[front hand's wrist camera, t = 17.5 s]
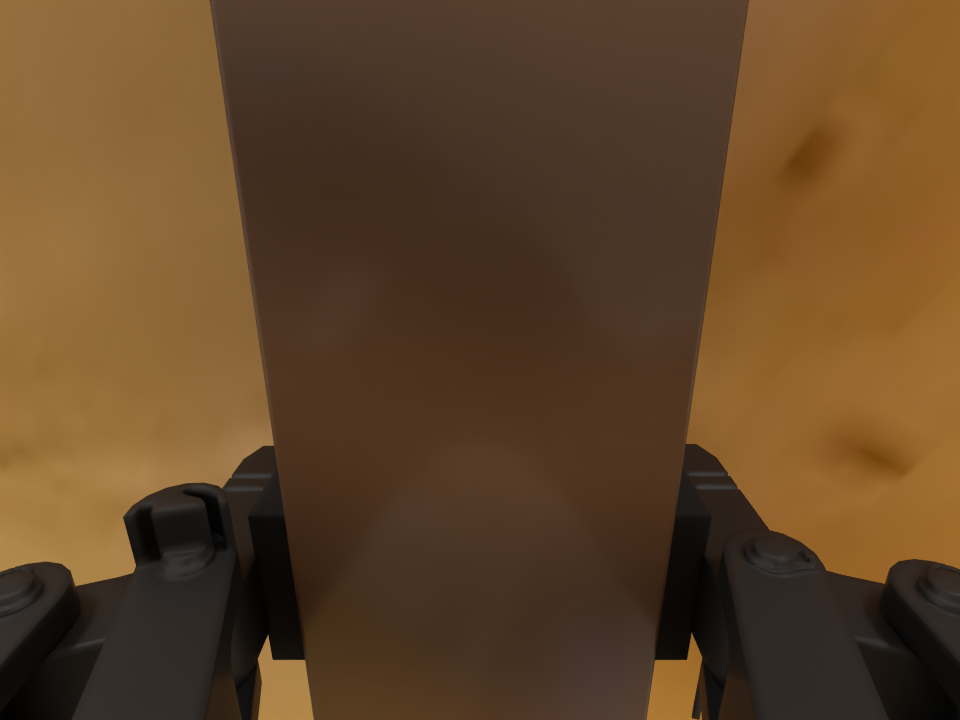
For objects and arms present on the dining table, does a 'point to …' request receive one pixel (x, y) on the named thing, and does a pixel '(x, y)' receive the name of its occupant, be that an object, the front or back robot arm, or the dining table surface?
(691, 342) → the beam
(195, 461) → the dining table surface
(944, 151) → the dining table surface
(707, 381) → the dining table surface
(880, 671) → the front robot arm
